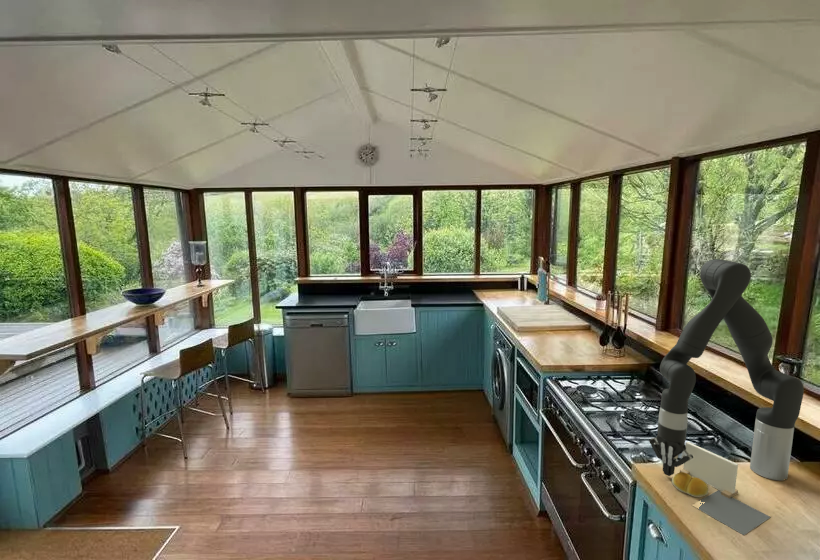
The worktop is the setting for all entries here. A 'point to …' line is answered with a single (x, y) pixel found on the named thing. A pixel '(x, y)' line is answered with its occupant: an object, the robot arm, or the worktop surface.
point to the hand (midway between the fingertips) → (667, 474)
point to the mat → (732, 512)
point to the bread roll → (690, 484)
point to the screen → (712, 469)
